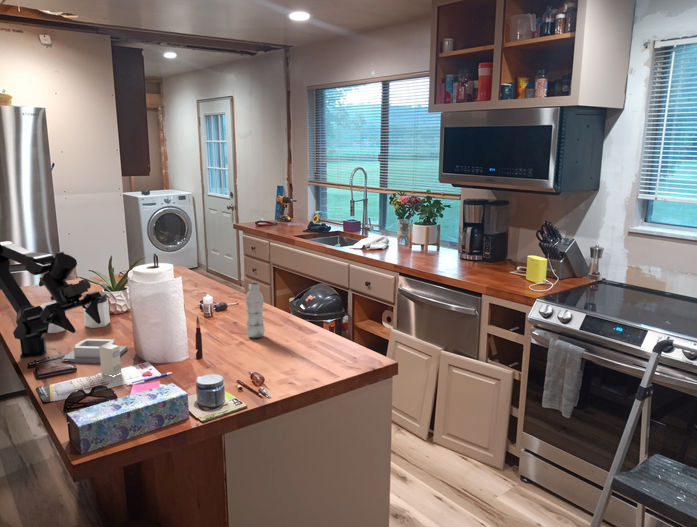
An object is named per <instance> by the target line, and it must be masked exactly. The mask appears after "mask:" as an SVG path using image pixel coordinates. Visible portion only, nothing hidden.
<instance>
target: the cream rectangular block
mask: <svg viewBox="0 0 697 527" xmlns="http://www.w3.org/2000/svg"><path fill="white" fill-rule="evenodd" d="M119 346H120V345H116V344H115V345H113V344H109V343H106V344H104V345H101V346H99V351H100V362H101V363H100V371H101V375H103V374H107V375H112V376H114V375H117V374H119V373H121V374H122V364H121V355H120V350H119ZM107 375H106V376H107ZM117 376H118V375H117Z"/></svg>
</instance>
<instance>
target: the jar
mask: <svg viewBox="0 0 697 527" xmlns="http://www.w3.org/2000/svg"><path fill="white" fill-rule="evenodd" d="M98 292H99V293H100V294H101V295H102V298H101V299H100V301H99V303H98V312H99V316H100V320H101V323H100V324H98V323H96V322H95V321H94V320H93V319H92V318H91V317H90V316H89V315H88V314H87V313H86V312H85V310H86V309H84V308H83V307H82V311H83V313H82V314H83V321H84V322H83V323H84V327H87V328H90V329H97V328H103V327H106V326H108V325H109V324H110V323H111V318H110V307H109V299H108V296H107V295H108V294H107V292H105V291H98ZM88 293H89V292H86V293H85V294H84V293H83V294H82V299H83V298H84V297H85V296H86V294H88Z"/></svg>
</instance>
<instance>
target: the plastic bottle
mask: <svg viewBox="0 0 697 527" xmlns="http://www.w3.org/2000/svg"><path fill="white" fill-rule="evenodd" d="M260 289H261V287H260V283H259V282H250V283H248V292H246V295H245V297H244V301H245V307H246V316H247V317H246V318H247V319H246V328H245V331H246V335H247V336H248V337H249V338H251V339H252V338H253V339H259V338H262V337H263V336H264V335H265V330H266V329H265V325H264V316H263V310H264V309H263V306H264V295H263V294H262V292H261V291H260Z"/></svg>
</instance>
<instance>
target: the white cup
mask: <svg viewBox="0 0 697 527" xmlns="http://www.w3.org/2000/svg"><path fill="white" fill-rule="evenodd" d="M53 303H57V302H56V301H55V300H54V301H49V302H44V303H42V304H41V305H40V306H41V307H42V309H44V308H45V307H46V305H50V304H53ZM64 331H66V329H64V328H62V327H60V326H57V325H55V324H52V323H50V324H49V327H48V333H47V334H57V333H61V332H64Z"/></svg>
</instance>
